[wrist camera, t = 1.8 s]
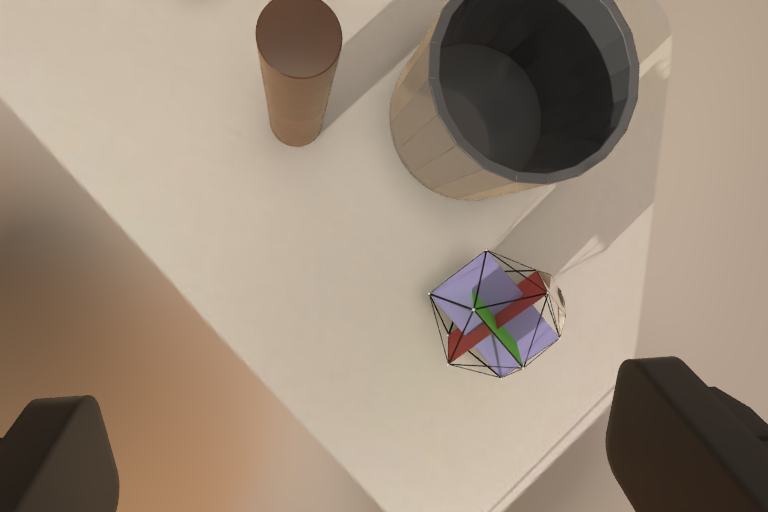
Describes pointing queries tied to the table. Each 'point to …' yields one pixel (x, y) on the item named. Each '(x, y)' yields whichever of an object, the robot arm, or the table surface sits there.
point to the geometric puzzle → (497, 314)
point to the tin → (514, 95)
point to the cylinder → (297, 65)
